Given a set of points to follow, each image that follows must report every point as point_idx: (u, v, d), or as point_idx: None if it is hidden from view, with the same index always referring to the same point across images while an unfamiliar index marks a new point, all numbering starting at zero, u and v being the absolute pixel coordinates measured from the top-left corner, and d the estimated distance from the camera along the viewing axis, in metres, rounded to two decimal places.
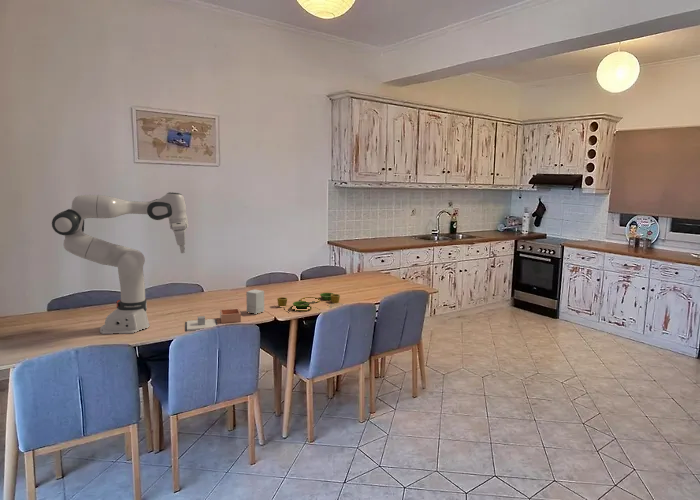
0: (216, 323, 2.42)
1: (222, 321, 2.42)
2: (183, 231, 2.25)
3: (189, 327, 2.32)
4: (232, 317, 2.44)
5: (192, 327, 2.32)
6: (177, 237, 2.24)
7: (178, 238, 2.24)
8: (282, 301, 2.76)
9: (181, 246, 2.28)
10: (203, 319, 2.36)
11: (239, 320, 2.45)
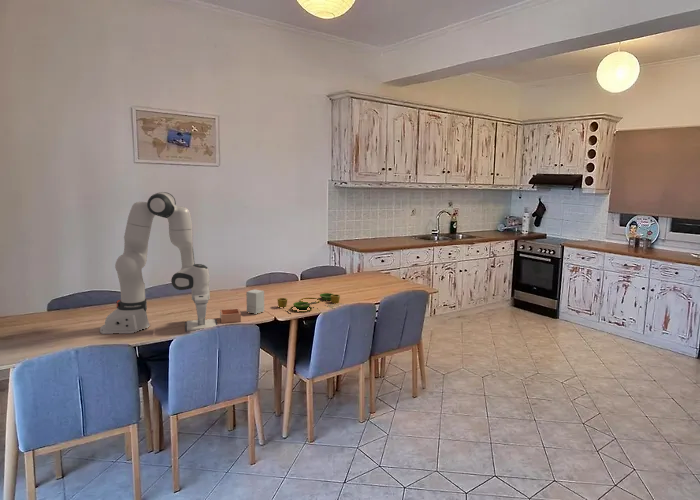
0: (216, 323, 2.42)
1: (222, 321, 2.42)
2: (205, 305, 2.28)
3: (189, 327, 2.32)
4: (232, 317, 2.44)
5: (192, 327, 2.32)
6: (198, 311, 2.27)
7: (199, 312, 2.27)
8: (282, 302, 2.74)
9: None
10: (203, 319, 2.36)
11: (239, 320, 2.45)
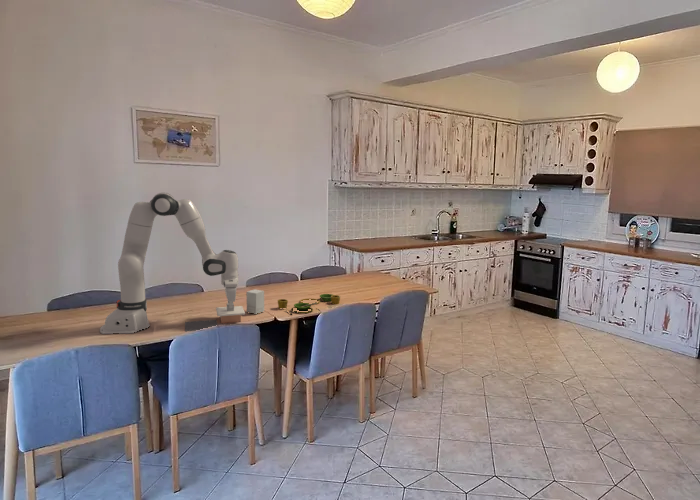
0: (216, 323, 2.42)
1: (222, 321, 2.42)
2: (235, 289, 2.38)
3: (219, 313, 2.42)
4: (232, 317, 2.44)
5: (222, 313, 2.42)
6: (229, 294, 2.37)
7: (229, 295, 2.37)
8: (283, 303, 2.72)
9: (230, 302, 2.42)
10: None
11: (239, 320, 2.45)
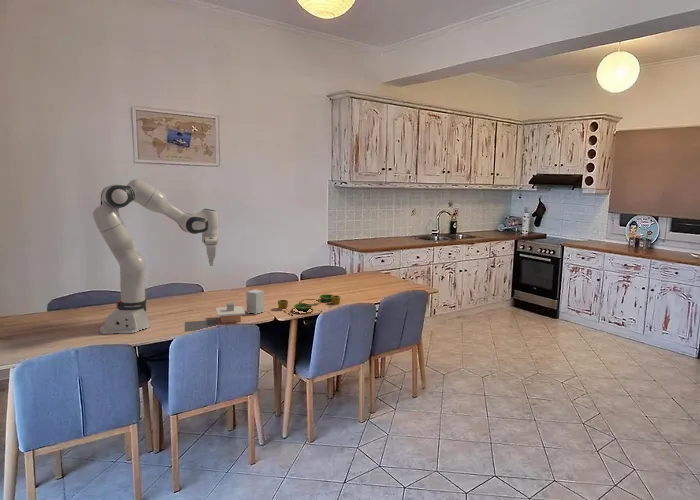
0: (216, 323, 2.42)
1: (222, 321, 2.42)
2: (215, 246, 2.43)
3: (219, 313, 2.42)
4: (232, 317, 2.44)
5: (222, 313, 2.42)
6: (209, 251, 2.42)
7: (209, 252, 2.42)
8: (283, 304, 2.70)
9: (211, 259, 2.46)
10: (232, 305, 2.46)
11: (239, 320, 2.45)
